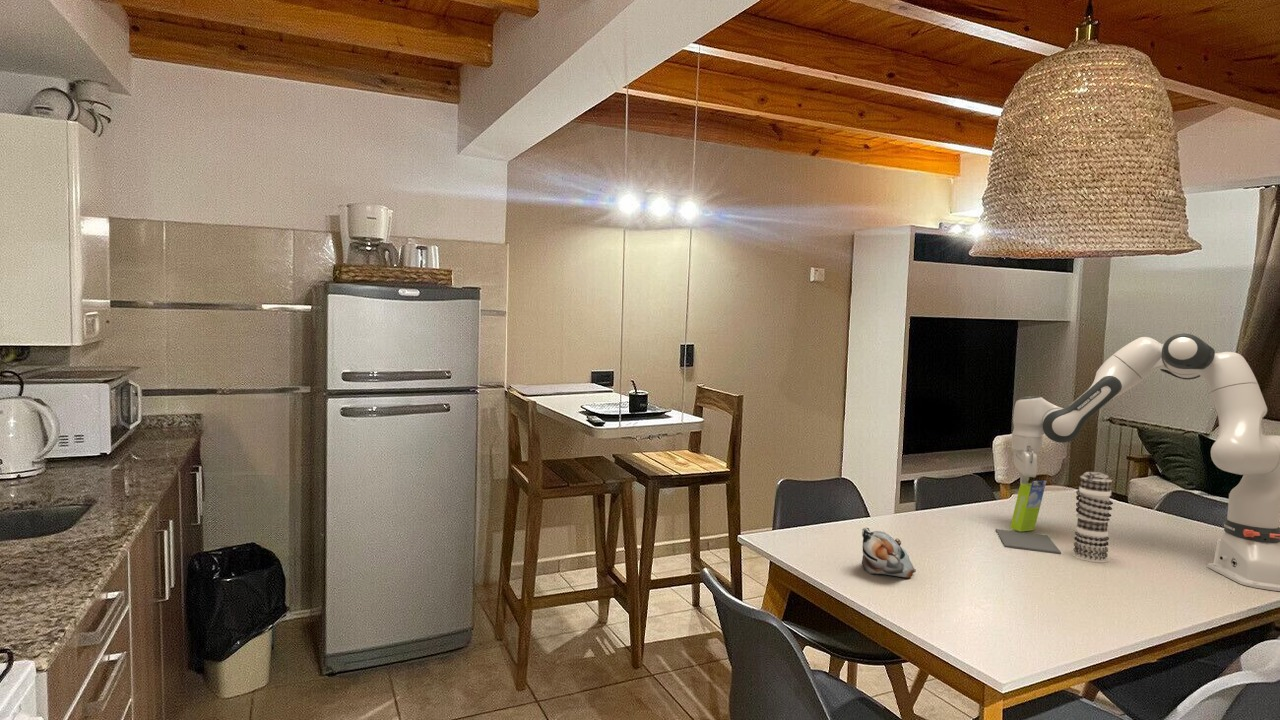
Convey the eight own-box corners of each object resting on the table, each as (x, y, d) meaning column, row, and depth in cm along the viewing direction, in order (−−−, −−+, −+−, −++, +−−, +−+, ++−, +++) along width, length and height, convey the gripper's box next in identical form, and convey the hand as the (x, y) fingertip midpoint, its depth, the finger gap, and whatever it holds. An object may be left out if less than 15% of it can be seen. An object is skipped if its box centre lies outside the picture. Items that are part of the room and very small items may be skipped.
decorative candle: (1081, 551, 216) (1087, 469, 215) (1114, 560, 208) (1121, 475, 207) (1065, 555, 211) (1071, 471, 210) (1099, 564, 204) (1105, 477, 202)
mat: (1060, 554, 212) (1061, 552, 212) (1004, 547, 217) (1004, 545, 217) (1047, 536, 230) (1047, 535, 230) (995, 530, 235) (995, 529, 235)
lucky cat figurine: (925, 578, 186) (920, 538, 180) (886, 598, 184) (879, 558, 178) (889, 545, 199) (884, 506, 193) (852, 563, 197) (845, 524, 191)
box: (1023, 526, 241) (1035, 476, 239) (1035, 530, 238) (1048, 480, 236) (1008, 528, 234) (1020, 477, 233) (1021, 532, 231) (1033, 481, 229)
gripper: (1043, 450, 227) (1040, 493, 228) (1031, 440, 246) (1028, 480, 247) (1021, 448, 229) (1018, 491, 230) (1010, 439, 248) (1008, 478, 249)
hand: (1023, 485), depth 238 cm, fingers closed
